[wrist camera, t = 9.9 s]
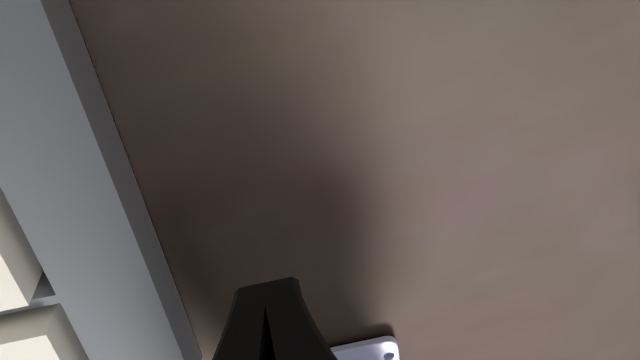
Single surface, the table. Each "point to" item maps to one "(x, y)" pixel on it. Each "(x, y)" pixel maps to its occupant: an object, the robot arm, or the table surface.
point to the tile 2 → (39, 335)
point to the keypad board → (81, 194)
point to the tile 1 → (15, 261)
